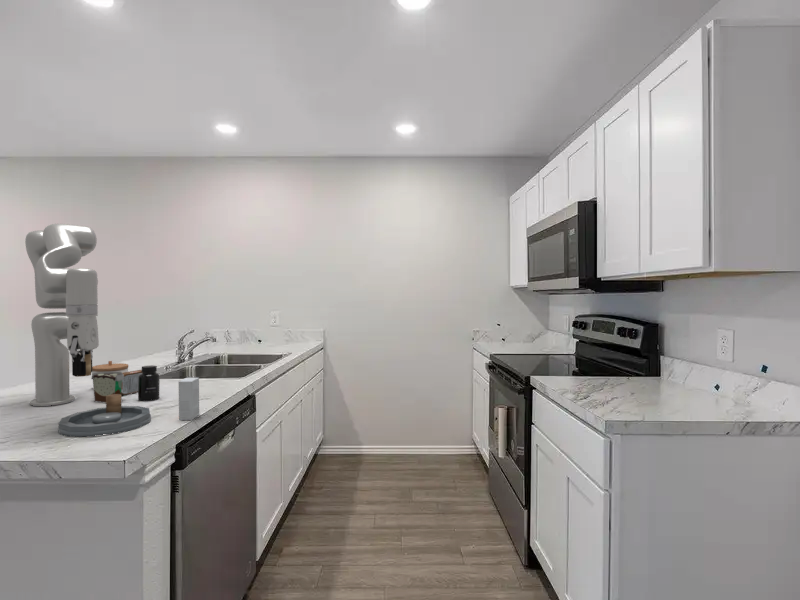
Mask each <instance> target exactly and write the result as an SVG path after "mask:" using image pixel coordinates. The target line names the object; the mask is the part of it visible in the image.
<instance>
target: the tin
mask: <svg viewBox="0 0 800 600" xmlns="http://www.w3.org/2000/svg"><path fill="white" fill-rule="evenodd" d="M141 370H142V369H139V370H138V369H137V370H131V371H130V370H129V371H128V372H124V373H123V375H124V379H123V380H122V389H121V396H127V395H131V394H138V377H139V375H140V374H142V372H141Z"/></svg>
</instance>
